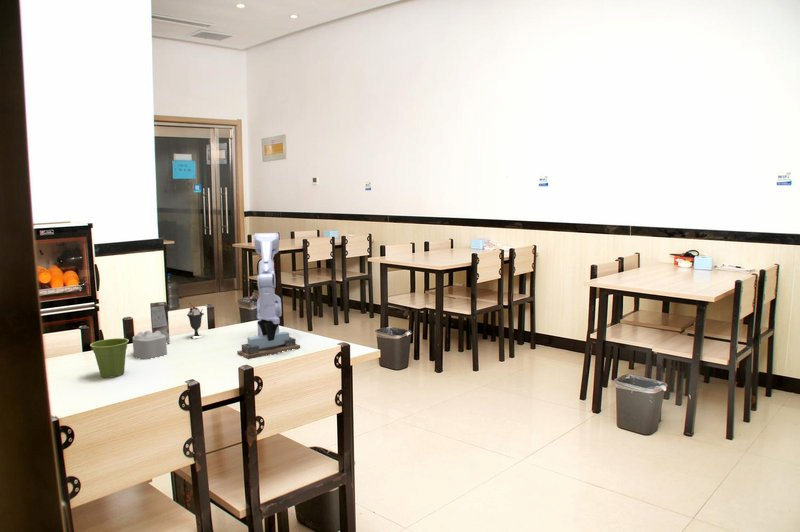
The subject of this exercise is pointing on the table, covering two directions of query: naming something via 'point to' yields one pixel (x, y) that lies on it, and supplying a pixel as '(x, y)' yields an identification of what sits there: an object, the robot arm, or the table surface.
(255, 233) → the robot arm
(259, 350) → the board
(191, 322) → the sundae
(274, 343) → the slat
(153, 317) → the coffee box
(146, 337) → the lumpy-topped squat cylinder
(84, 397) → the table surface
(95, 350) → the plant pot
